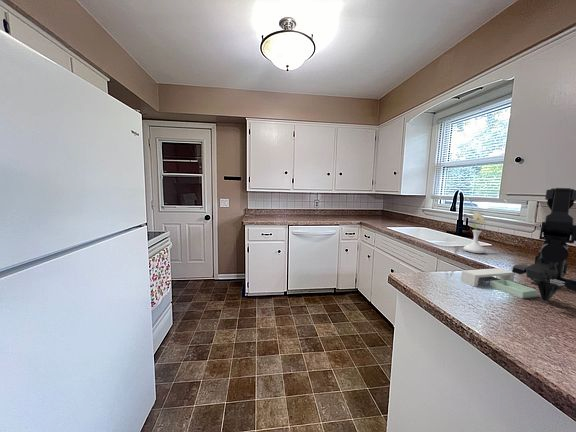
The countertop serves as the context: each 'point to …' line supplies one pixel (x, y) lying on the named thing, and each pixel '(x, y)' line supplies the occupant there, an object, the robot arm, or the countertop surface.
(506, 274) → the shelf
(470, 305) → the countertop surface
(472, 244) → the flower in vase
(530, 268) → the robot arm
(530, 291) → the tray
